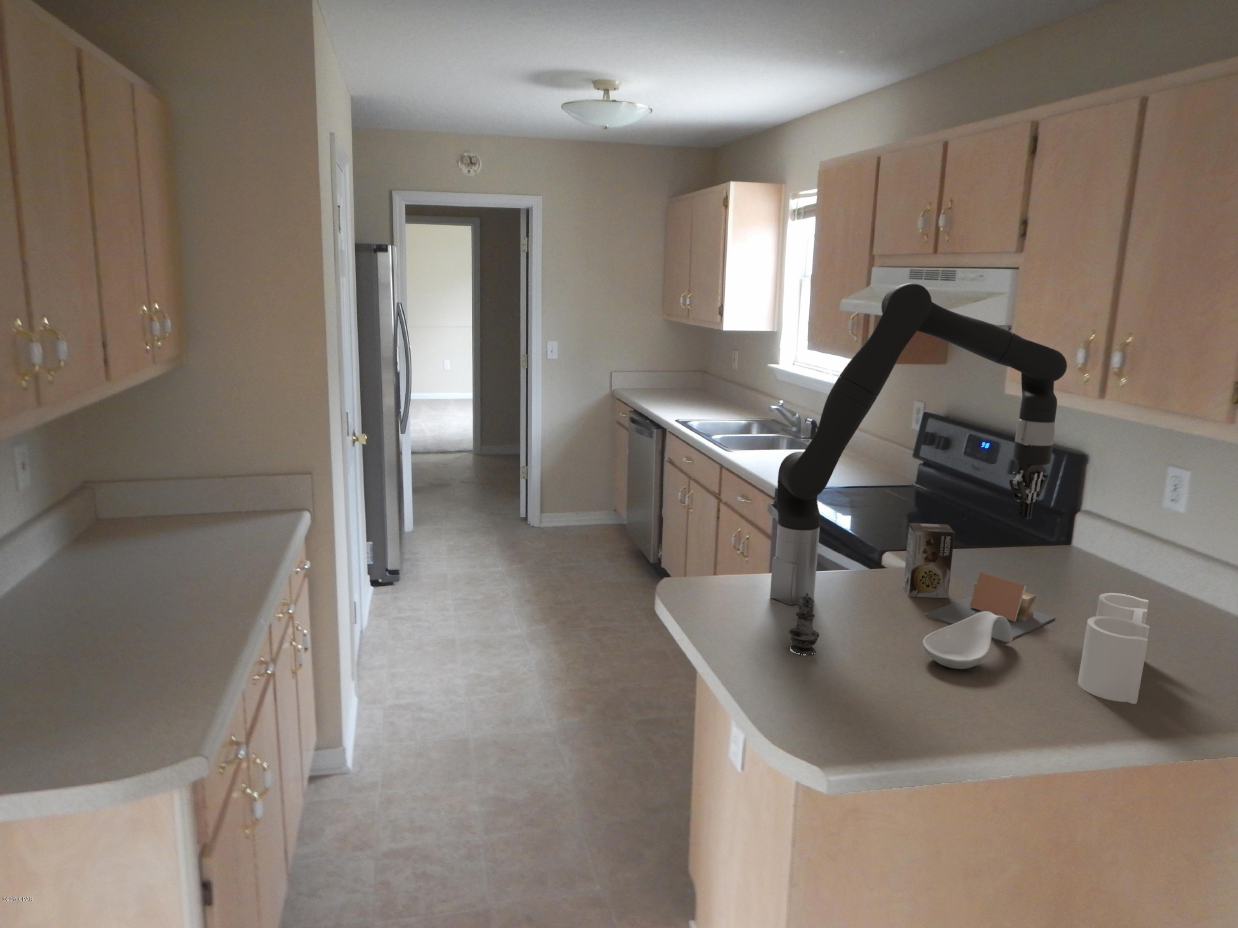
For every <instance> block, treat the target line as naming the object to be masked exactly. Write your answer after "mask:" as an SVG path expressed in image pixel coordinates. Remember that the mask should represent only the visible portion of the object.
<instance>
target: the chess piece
mask: <svg viewBox="0 0 1238 928" xmlns="http://www.w3.org/2000/svg"><path fill="white" fill-rule="evenodd" d="M805 595H806V596H804V597H802V598H800V600H799V604H798V611H797V612H796V614H795V615H796V616H797V618H796V619H797V620H796V625H795V627H792V628H791V629H789V630H788V634H789V639H790V641H791V642H792V646H791V645H790V646H791V649H792V650H793V651H794V652H796V653H800V655H801V654H802V655H803V654H806V655H812V653H813V654H814V653H816V654H817V649H816V648H814V646H815V644H816V643H817V642H818V639H819V637H820V633H819V632H818V631H817V630H815V629H814V627H813V623H814V618H815V617H816V616H815V614H814V606H815V605H814V604H815V601H814V600H815V599H814V600H813V599H812V598H811V597H809V596H808V595H809V594H808V593H806V594H805ZM800 655H799V656H800ZM814 655H815V654H814ZM812 656H813V655H812Z"/></svg>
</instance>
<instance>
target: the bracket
mask: <svg viewBox="0 0 1238 928" xmlns="http://www.w3.org/2000/svg"><path fill="white" fill-rule="evenodd" d="M1149 602H1150V601H1149V600H1148V599H1144V598H1140V597H1137V596H1132V595H1129V594H1124V593H1116V592H1107V593H1106V592H1105V593H1102V594H1099V596H1098V601H1097V608H1096V613H1095V616H1091V617H1090V618H1088V619H1087V621H1086V629H1085V635H1084V641H1083V647H1082V654H1081V660H1080V666H1079V672H1078V678H1077V679H1078V680H1077V684H1078V686H1079V687H1080V688H1081V689H1083V690H1084V692H1085V691H1086V692H1087V693H1089V694H1091V695H1093V696H1096V697H1098V698H1100V699H1105V700H1109V701H1113V702H1120V703H1122V702H1123V703H1129V704H1132V705H1133V704H1134V705H1136V704H1138V699H1139V693H1140V687H1141V683H1142V682H1141V681H1142V676H1143V670H1144V664H1145V659H1146V653H1147V647H1148V642H1149V639H1148V638H1149V631H1150V626H1149V624H1148V625H1147V624H1146V621H1147V614H1148V609H1149Z"/></svg>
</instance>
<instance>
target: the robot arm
mask: <svg viewBox="0 0 1238 928" xmlns="http://www.w3.org/2000/svg"><path fill="white" fill-rule="evenodd" d="M880 307H881V309H880V310H881V314H882V315H881V317H880V319H879V321H878V323H877V324H876V327H875V328H874V330H873V332H872V333H871V335H870V337H868V339H867V341H866V342H864V344H863V346H861V348H860V349H859V350H858V351H857V352H856V353H855V355H854V356H853V357H852V358H851V359H850V361H848V363H847V364H846V366H845V367H844V368H843V370H842V372H841V373H840V374H839V376H838V378H837V380H836V381H835V383H834V384H833V386H832V388H831V389H830V391H829V393H828V396H827V397H826V400H825V403H824V406H823V409H822V411H821V416H820V418H819V419H820V420H819V423H818V426H817V429H816V432H815V434H814V435H813V437H812V439H811V441H810V442H809V444H808V445H807V447H806V448H805V449H804V451H794V452H791V453H790V454H788V455H787V456H785V457H784V458H783V459H782V461H781V462H780V466H779V468H778V473H777V484H776V485H777V487H776V488H777V490H776V509H777V533H776V541H775V542H776V544H775V545H776V547H775V556H773V558H772V560H771V561H772V562H771V578H770V579H771V580H770V589H769V590H770V592H769V598H772V599H774V600H777V601H779V602H782V603H783V604H787V605H790V606H792V605H799V600H800V598H802V597H804V596H806V595H805V594H806V593H808V594H809V595H808V596H809V597H811V598H812V599H813V600H815V599H814V598H815V591H816V590H815V589H816V588H815V587H816V577H817V575H816V574H817V563H818V553H819V552H818V551H819V539H820V527H821V514H820V509H819V505H818V496H819V495H820V494H821V493H823V491H824V490H825V488H826V487H827V486H828V483H829V482H830V479H831V477H832V475H833V473H834V470H835V469H836V466H837V464H838V463H839V460H840V459H841V456H842V455H843V453H844V451H845V449H846V447H847V445H848V444H849V442H850V441H851V439H852V438H853V437H854V435H855V433H856V431H858V429H859V427H860V426H861V423H863V421H864V419H865V417H866V416H867V414H868V413H869V411H870V410H871V408H872V406H873V405H874V403H876V400H877V397H879V395H880V394H881V391H882V390H883V388H884V387H885V385H886V383H887V380H888V379H889V377H890V375H891V373H892V371H893V369H894V368H895V365H896V363H897V361H898V360H899V358H900V355H901V354H902V353H903V351H904V350H905V348H906V346H908V343H910V341H911V340H912V339H913V337H914V336H915V335H916V333H917V332H919V333H922V334H926V335H929V336H932V337H936V338H938V339H941V340H944V341H945V342H948V343H951V344H953V345H955V346H957V347H959V348H962V349H963V350H965V351H968V352H970V353H973V354H975V355H977V356H979V357H981V358H984V359H986V360H989V361H991V362H993V363H995V364H998V365H1001V366H1005V367H1008V368H1011V369H1014V370H1015V371H1018V372H1020V373H1021V374H1020V376H1021V377H1020V379H1021V380H1020V381H1021V382H1020V383H1021V401H1020V402H1021V403H1020V407H1019V415H1018V416H1019V418H1018V423H1017V425H1016V430H1015V438H1014V444H1013V445H1014V446H1013V447H1014V448H1013V455H1012V460H1014V461H1015V462H1016V463H1018V466H1017V469H1016V476H1015V477H1014V478H1012V477H1011V478H1010V479H1009V486H1010V490H1011V494H1012V497H1013V500H1015V501H1017V502H1018V504H1017V505H1018V507H1017V514H1016V517H1017V518H1018V519H1021V520H1024V521H1025V520H1026V521H1027V520H1029V519H1031V518H1032V513H1033V506H1034V502H1036V499H1039V498H1040V496H1041V494H1042V492H1043V489H1044V487H1045V485H1046V483H1047V480H1048V479H1049V474H1048V473H1046V472H1045V473H1044V466H1049V465H1050V464H1051V462H1052V461H1051V460H1052V456H1053V455H1052V454H1053V449H1054V440H1055V434H1056V433H1055V430H1056V427H1055V425H1056V422H1055V421H1056V417H1057V409H1058V398H1057V396H1056V394H1055V393H1054V392H1055V391H1054V390H1055V389H1054V387H1055V382H1056V381H1059V380H1060V379H1062V377H1064V375H1065V374H1066V371H1067V369H1068V362H1067V359H1066V357H1065V356H1064V355H1063V353H1061V352H1060V351H1059V350H1057V349H1055V348H1052V347H1049V346H1046V345H1044V344H1040V343H1038V342H1035V341H1033V340H1032V341H1031V340H1029V339H1026V338H1024V337H1022V336H1020V335H1018V334H1016V333H1014V332H1012V331H1010V330H1009V329H1008V330H1007V329H1006V328H1002V327H1001V326H998V325H995V324H993V323H990V322H987V321H984V320H982V319H981V320H980V319H977V318H974V317H970V316H967V315H964V314H960V313H957V312H954V311H953V310H949V309H947V308H944V307H942V306H941V305H939V304H937V303H935V302H933V301H932V296H931V294H930V292H929V290H928V289H927V288H926V287H925V286H923V285H921V284H919V283H913V282H912V283H911V282H910V283H908V282H907V283H904V284H900V285H898V286H895V287H894V288H892V289H891V290H889V291H888V292H887V293H886V294H885V295H884V297H883V299H882V302H881V306H880Z"/></svg>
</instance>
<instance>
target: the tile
mask: <svg viewBox="0 0 1238 928" xmlns="http://www.w3.org/2000/svg"><path fill="white" fill-rule="evenodd" d="M976 583H977V584H976V587H975V590H974V589H973V597H972V600H971V603H970V606H969V607H972V608H975V609H978V610H981V611H988V612H991V613H993V614H995V615H997V616H1003V617H1005V618H1006V619H1008V620H1011V621H1014V622H1015V621H1016V617H1017V614H1018V611H1019V608H1020V604H1021V601H1022V598H1023V595H1024V592H1026V587H1027V585H1023V584H1020V583H1017V582H1013V581H1010V580H1008V579H1004V578H1000V577H997V576H993V575H990V574H986V573H983V572H979V575H978V578H977V581H976Z"/></svg>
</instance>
